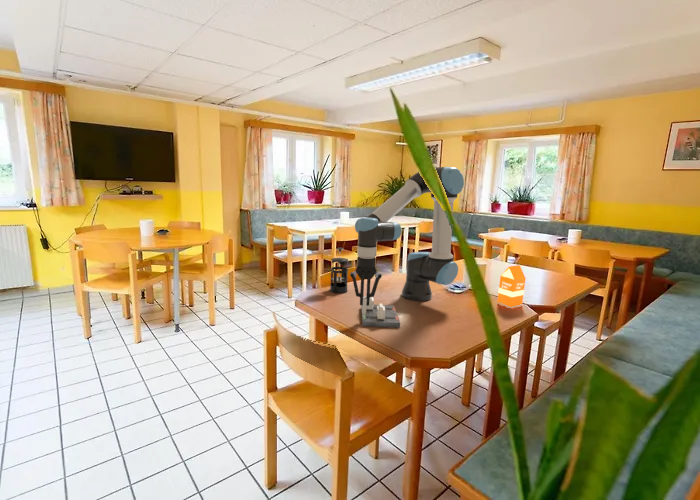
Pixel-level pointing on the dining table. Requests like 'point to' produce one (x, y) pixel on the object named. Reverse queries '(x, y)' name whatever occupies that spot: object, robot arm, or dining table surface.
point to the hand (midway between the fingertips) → (364, 312)
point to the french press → (338, 286)
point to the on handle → (370, 304)
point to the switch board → (389, 321)
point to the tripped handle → (380, 312)
